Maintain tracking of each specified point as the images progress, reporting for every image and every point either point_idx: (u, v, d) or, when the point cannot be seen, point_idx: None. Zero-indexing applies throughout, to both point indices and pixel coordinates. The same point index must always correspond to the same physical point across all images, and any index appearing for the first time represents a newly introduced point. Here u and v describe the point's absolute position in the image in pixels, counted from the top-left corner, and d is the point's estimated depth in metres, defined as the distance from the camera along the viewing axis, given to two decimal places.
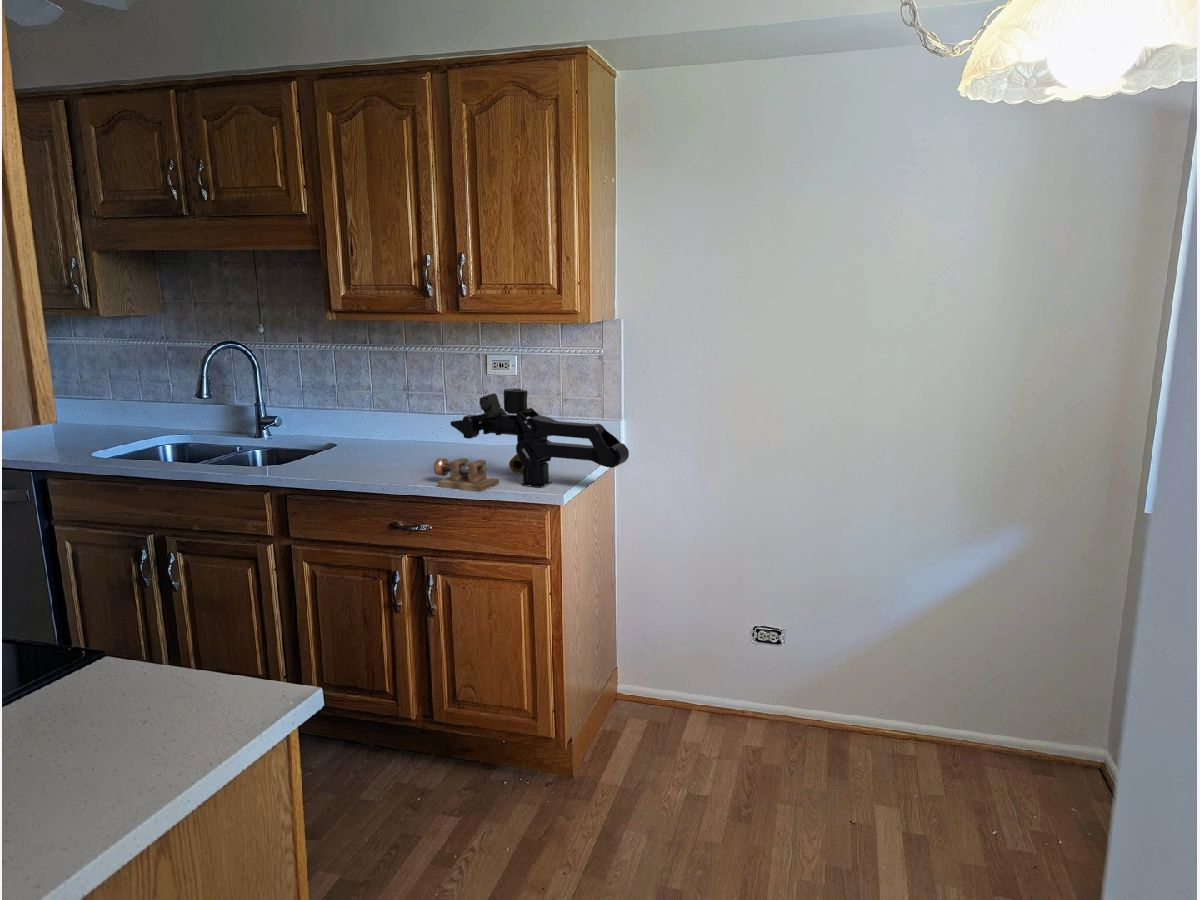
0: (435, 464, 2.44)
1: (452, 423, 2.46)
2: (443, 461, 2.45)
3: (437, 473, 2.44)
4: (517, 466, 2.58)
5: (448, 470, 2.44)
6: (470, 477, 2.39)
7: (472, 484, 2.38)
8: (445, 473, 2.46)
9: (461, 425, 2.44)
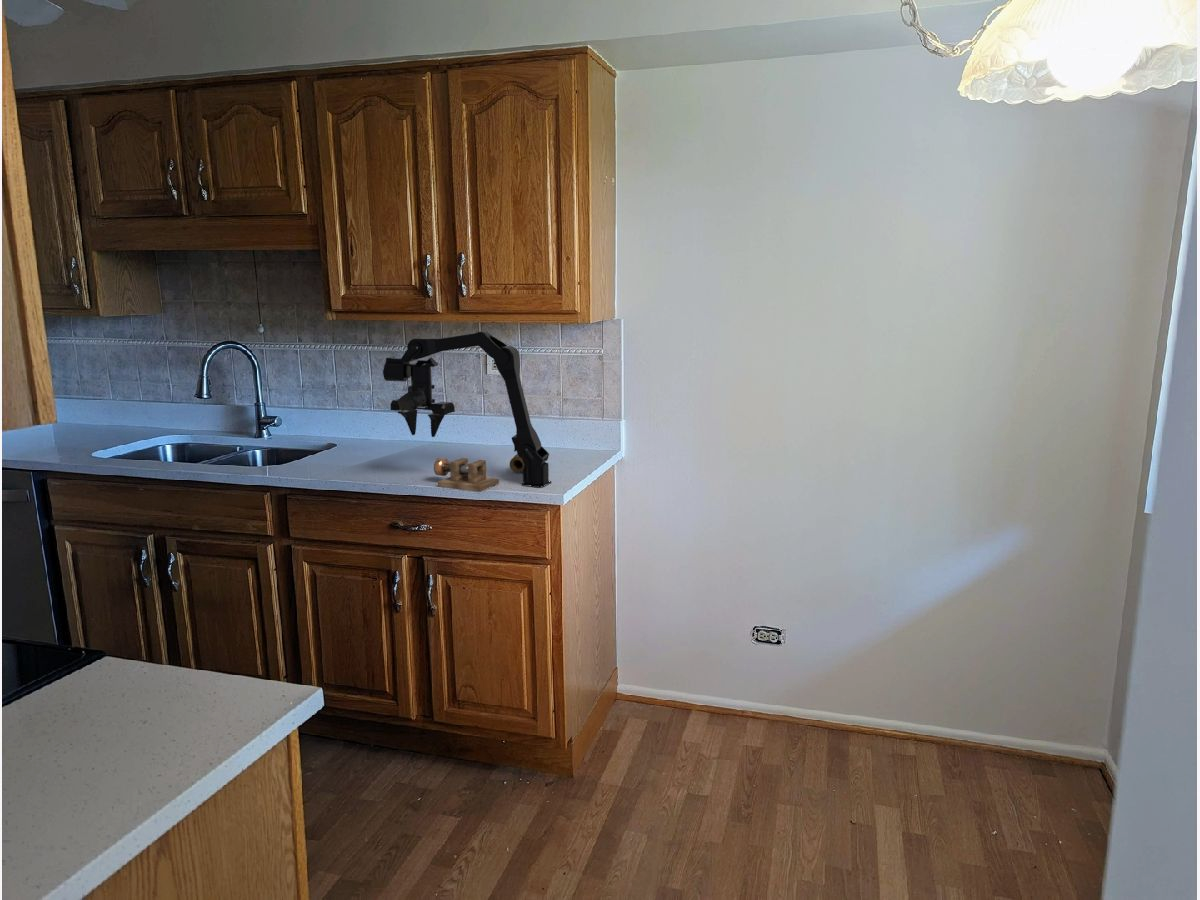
0: (435, 464, 2.44)
1: (434, 433, 2.45)
2: (443, 461, 2.45)
3: (437, 473, 2.44)
4: (517, 466, 2.58)
5: (448, 470, 2.44)
6: (470, 477, 2.39)
7: (472, 484, 2.38)
8: (445, 473, 2.46)
9: (436, 422, 2.44)
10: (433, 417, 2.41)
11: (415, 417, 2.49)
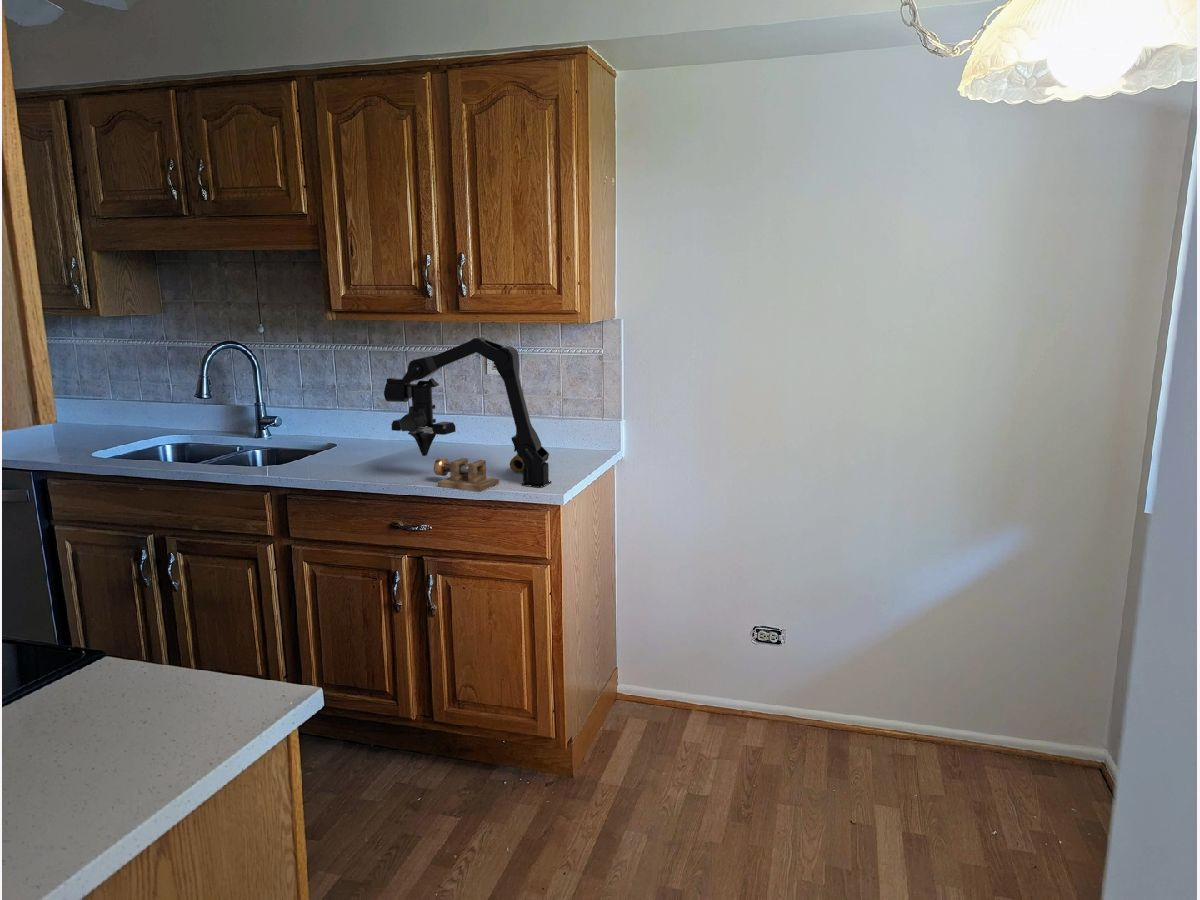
0: (435, 464, 2.44)
1: (425, 452, 2.47)
2: (443, 461, 2.45)
3: (437, 473, 2.44)
4: (518, 466, 2.58)
5: (448, 470, 2.44)
6: (470, 477, 2.39)
7: (472, 484, 2.38)
8: (445, 473, 2.46)
9: (428, 441, 2.46)
10: (424, 436, 2.44)
11: None
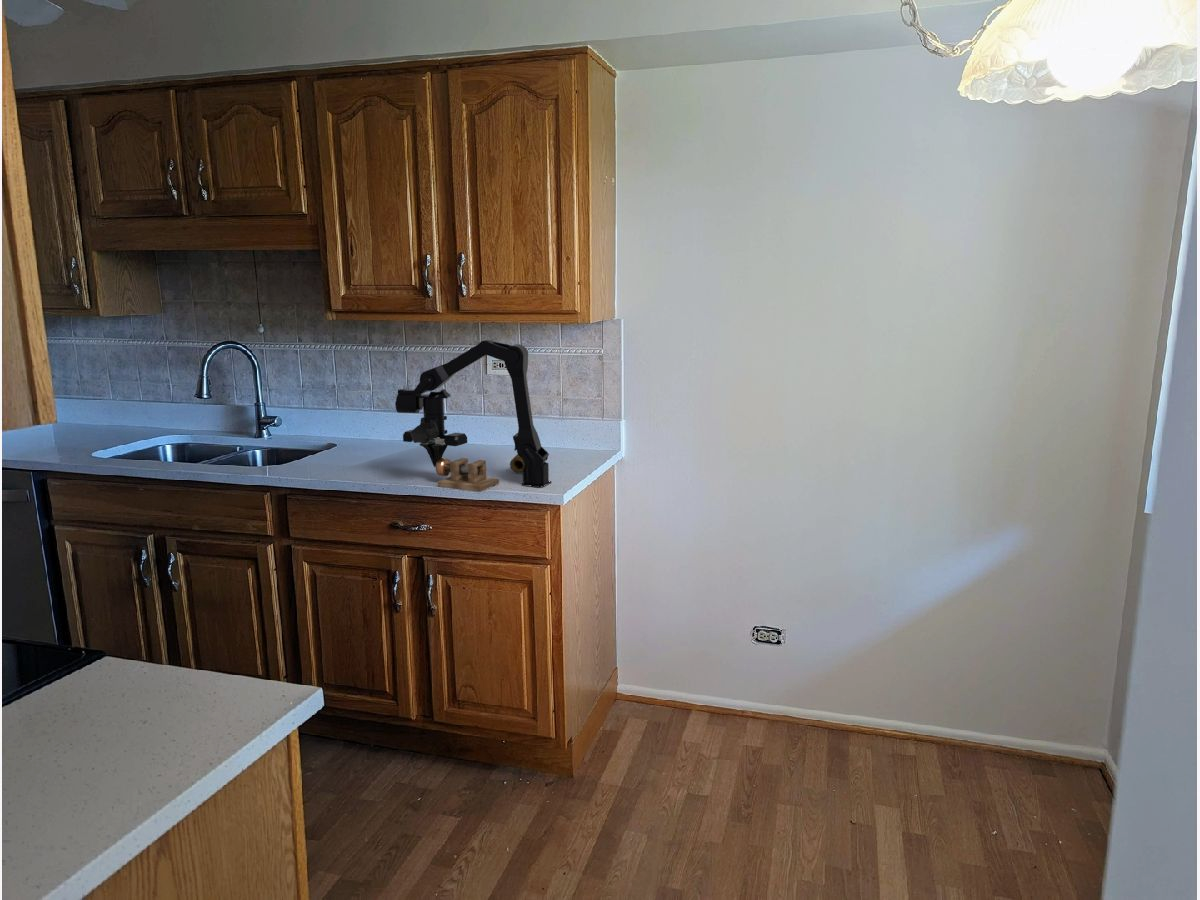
0: (437, 464, 2.44)
1: None
2: (445, 461, 2.44)
3: (439, 473, 2.44)
4: (518, 466, 2.58)
5: None
6: (470, 477, 2.39)
7: (472, 484, 2.38)
8: (447, 473, 2.46)
9: (439, 452, 2.46)
10: (436, 448, 2.43)
11: None
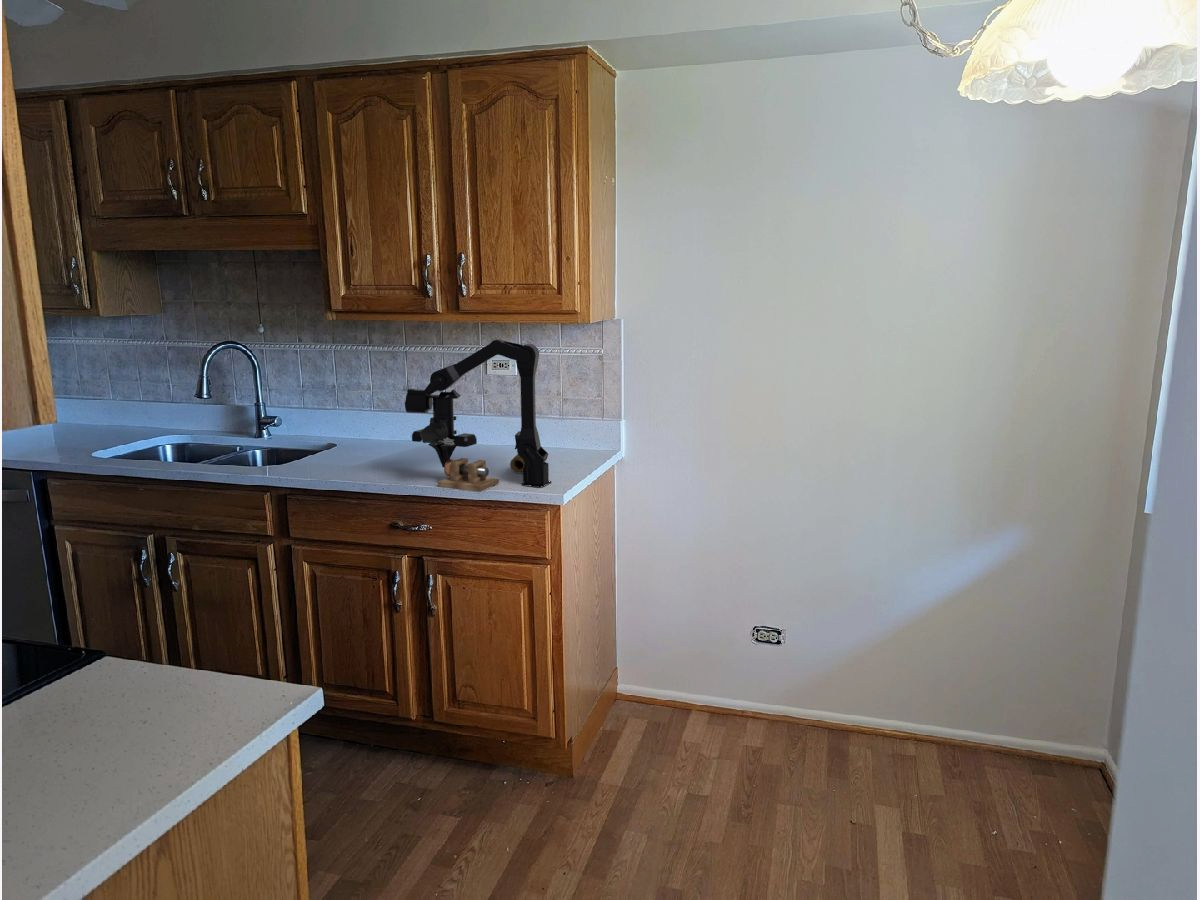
0: (445, 465, 2.42)
1: None
2: None
3: (448, 474, 2.43)
4: (518, 466, 2.58)
5: None
6: (470, 477, 2.39)
7: (472, 484, 2.38)
8: None
9: (448, 452, 2.44)
10: (445, 448, 2.41)
11: None
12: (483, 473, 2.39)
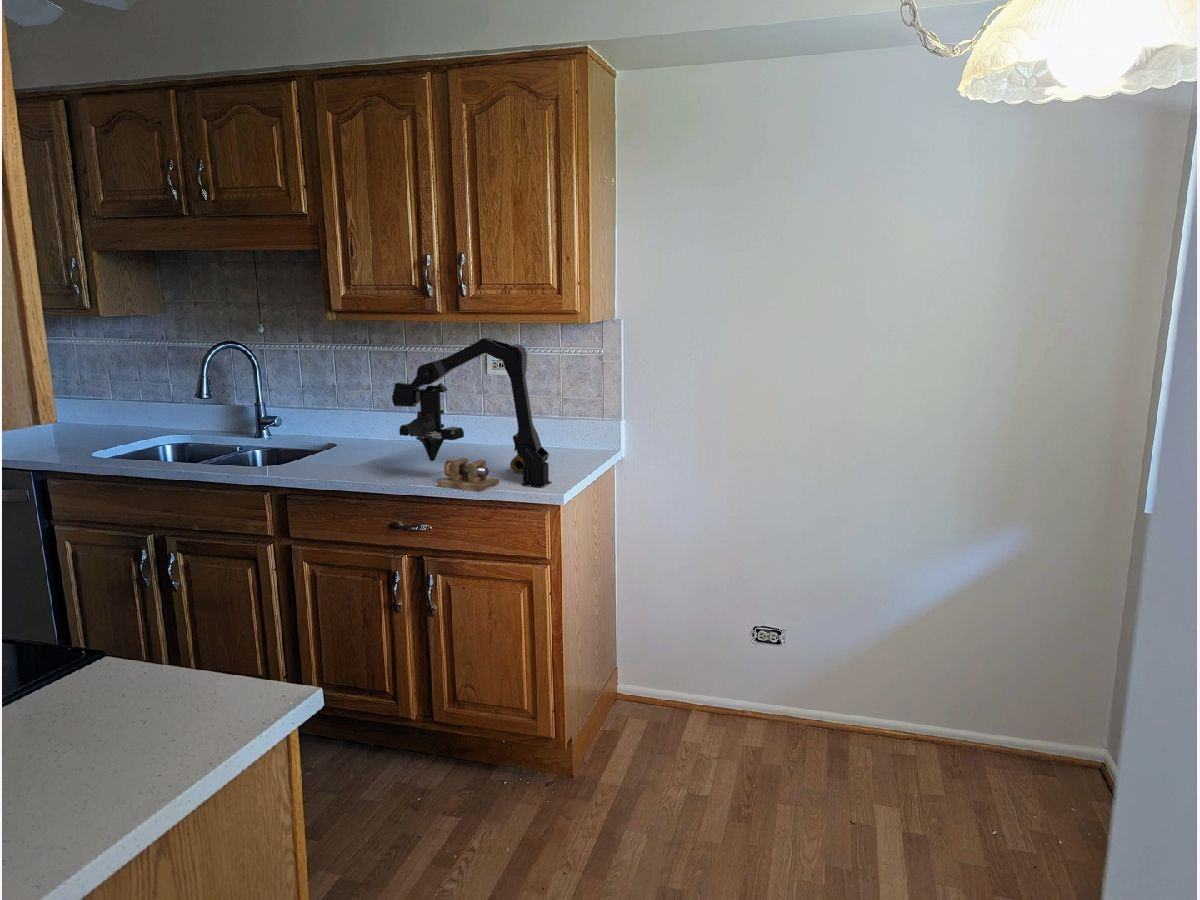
0: (445, 465, 2.42)
1: (433, 457, 2.46)
2: None
3: (447, 474, 2.43)
4: (518, 466, 2.58)
5: None
6: (470, 477, 2.39)
7: (472, 484, 2.38)
8: None
9: (436, 446, 2.45)
10: (433, 442, 2.43)
11: None
12: (483, 473, 2.39)
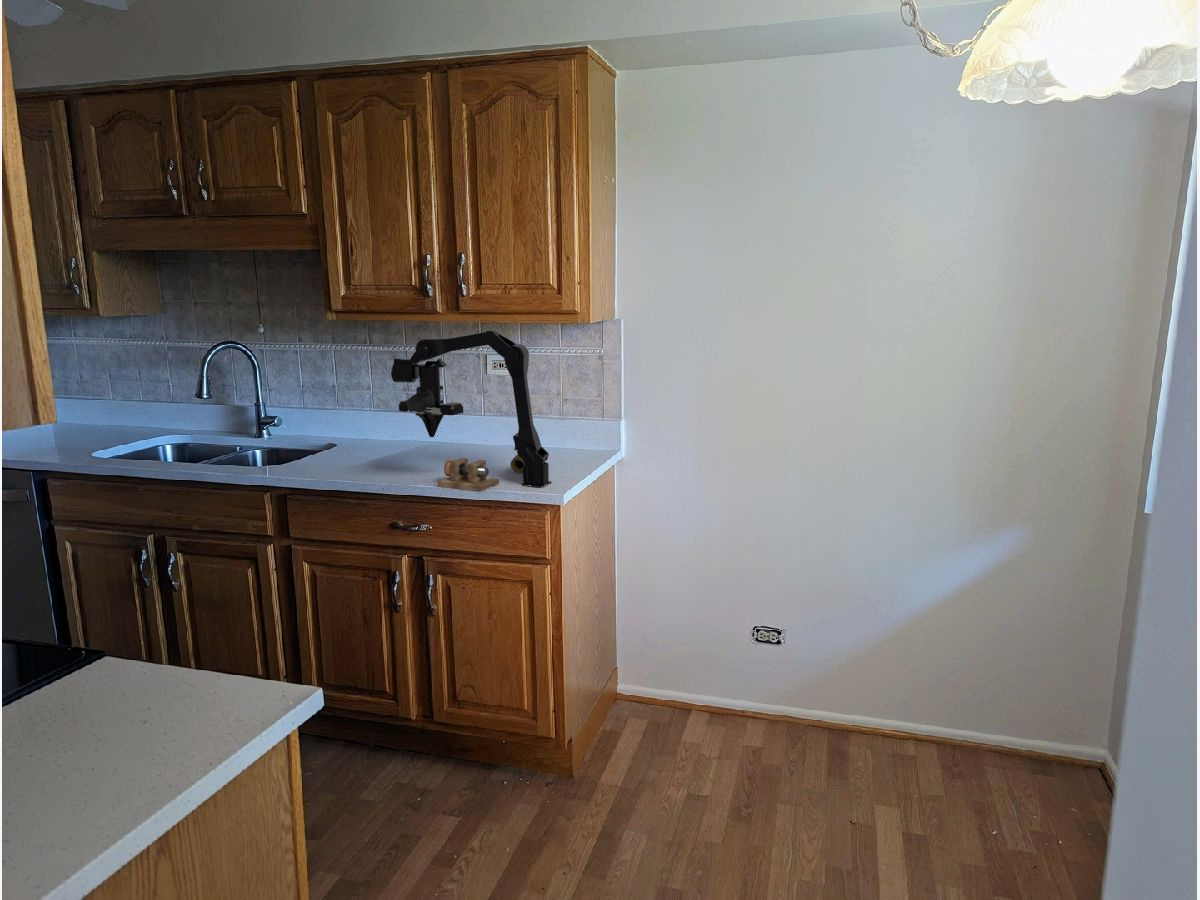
0: (445, 465, 2.42)
1: (433, 434, 2.45)
2: None
3: (447, 474, 2.43)
4: (518, 466, 2.58)
5: None
6: (470, 477, 2.39)
7: (472, 484, 2.38)
8: None
9: (435, 422, 2.44)
10: (432, 417, 2.41)
11: None
12: (483, 473, 2.39)
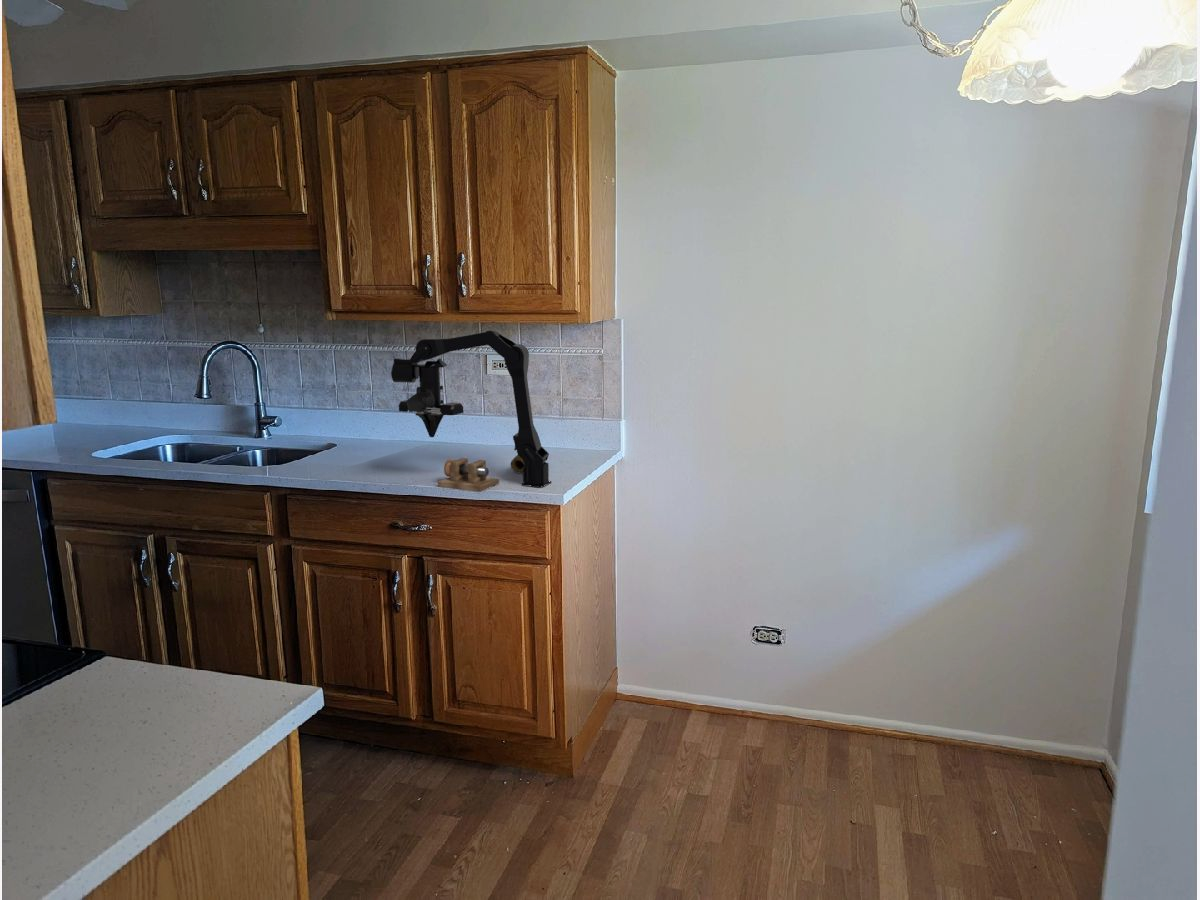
0: (445, 465, 2.42)
1: (433, 434, 2.45)
2: None
3: (447, 474, 2.43)
4: (518, 466, 2.58)
5: None
6: (470, 477, 2.39)
7: (472, 484, 2.38)
8: None
9: (435, 422, 2.44)
10: (432, 417, 2.41)
11: None
12: (483, 473, 2.39)
